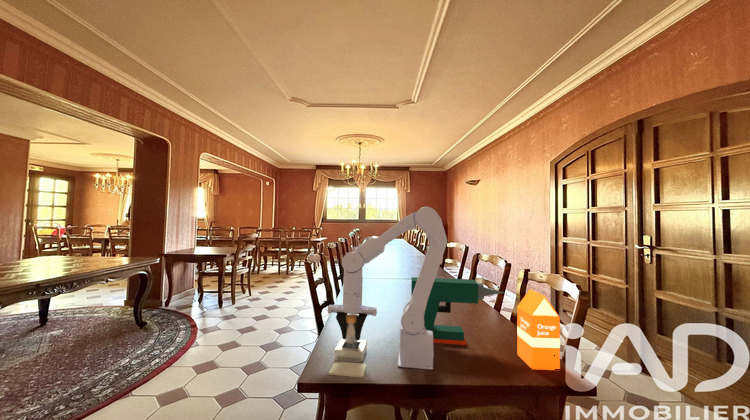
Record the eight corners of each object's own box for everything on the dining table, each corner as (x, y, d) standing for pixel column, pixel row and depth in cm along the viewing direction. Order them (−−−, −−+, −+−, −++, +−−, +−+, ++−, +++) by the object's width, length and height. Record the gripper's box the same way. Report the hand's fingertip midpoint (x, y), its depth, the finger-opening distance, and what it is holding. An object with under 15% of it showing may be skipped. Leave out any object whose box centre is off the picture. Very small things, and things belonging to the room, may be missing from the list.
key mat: (366, 365, 78) (366, 363, 78) (363, 377, 72) (363, 375, 72) (334, 363, 79) (334, 361, 79) (328, 374, 73) (328, 372, 73)
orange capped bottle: (358, 348, 86) (359, 314, 86) (356, 353, 82) (356, 318, 83) (346, 347, 86) (347, 313, 87) (343, 352, 83) (344, 317, 83)
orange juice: (542, 355, 87) (542, 289, 88) (560, 370, 78) (560, 296, 79) (516, 354, 87) (516, 288, 88) (531, 369, 78) (531, 295, 79)
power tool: (501, 338, 99) (501, 280, 100) (508, 347, 92) (509, 285, 93) (409, 333, 102) (410, 276, 103) (409, 341, 95) (410, 280, 96)
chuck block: (366, 350, 88) (366, 340, 88) (362, 362, 80) (362, 351, 80) (341, 348, 89) (341, 338, 89) (334, 360, 81) (334, 349, 81)
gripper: (378, 290, 88) (377, 334, 88) (332, 287, 90) (331, 331, 89) (375, 296, 81) (374, 344, 81) (326, 293, 83) (324, 340, 82)
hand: (351, 338), depth 85 cm, fingers closed on orange capped bottle, 4 cm apart
